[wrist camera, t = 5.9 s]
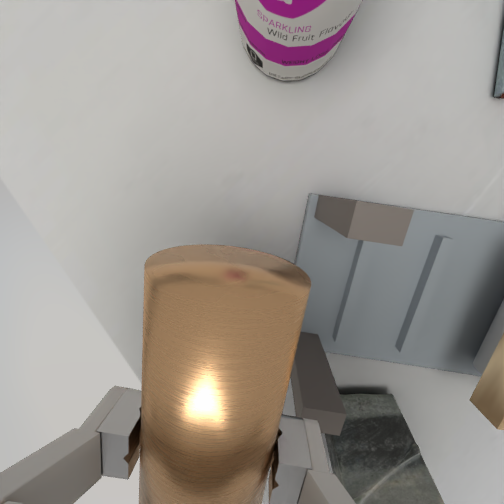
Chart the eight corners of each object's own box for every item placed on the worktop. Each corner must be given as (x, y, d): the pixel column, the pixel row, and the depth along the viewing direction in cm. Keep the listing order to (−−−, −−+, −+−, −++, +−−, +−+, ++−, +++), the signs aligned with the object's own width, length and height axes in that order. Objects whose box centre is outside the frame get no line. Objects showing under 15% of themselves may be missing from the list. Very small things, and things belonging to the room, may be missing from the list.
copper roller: (252, 483, 12) (244, 649, 8) (166, 468, 12) (110, 625, 8) (298, 256, 9) (331, 321, 4) (181, 238, 9) (100, 284, 4)
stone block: (394, 412, 28) (404, 388, 26) (498, 644, 16) (540, 647, 13) (319, 414, 29) (321, 391, 26) (364, 639, 17) (377, 639, 14)
